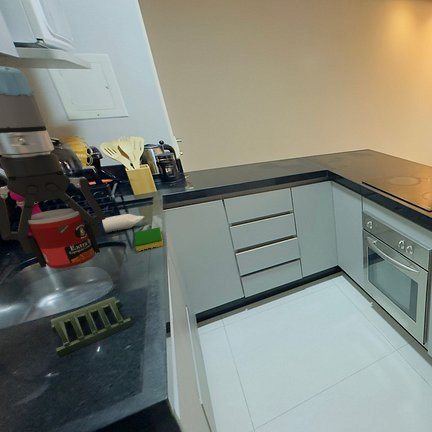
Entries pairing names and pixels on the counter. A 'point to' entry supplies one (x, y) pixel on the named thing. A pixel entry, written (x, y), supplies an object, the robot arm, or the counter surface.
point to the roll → (120, 222)
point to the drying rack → (96, 335)
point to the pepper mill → (20, 203)
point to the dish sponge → (148, 239)
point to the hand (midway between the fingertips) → (71, 257)
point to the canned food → (61, 238)
